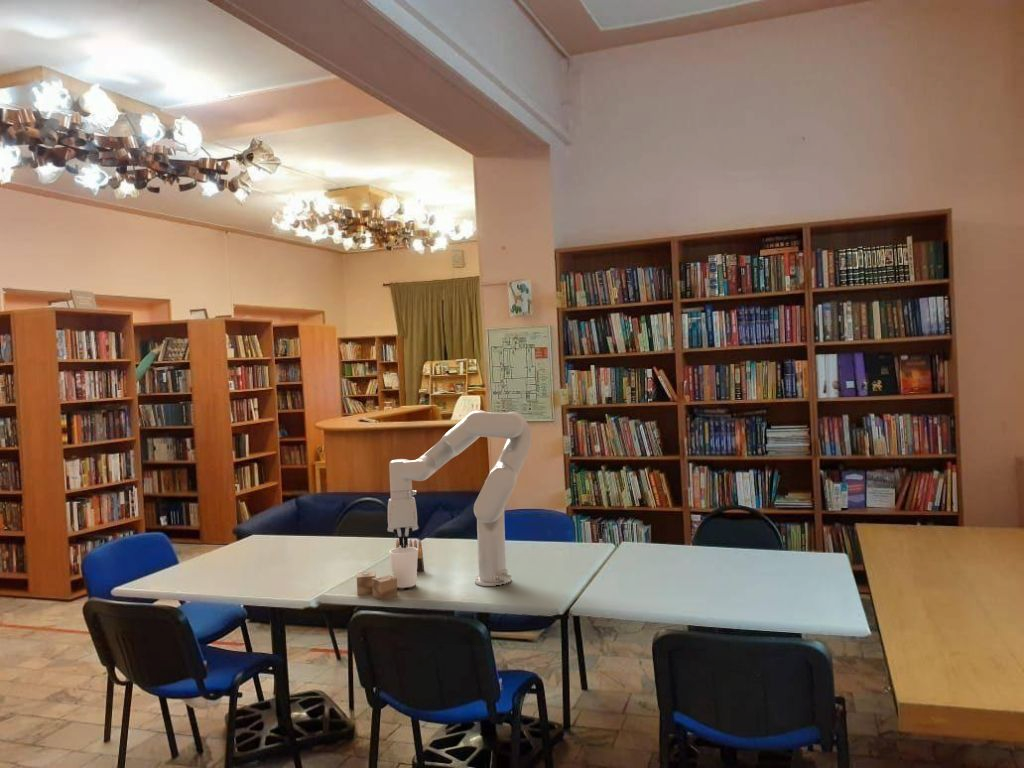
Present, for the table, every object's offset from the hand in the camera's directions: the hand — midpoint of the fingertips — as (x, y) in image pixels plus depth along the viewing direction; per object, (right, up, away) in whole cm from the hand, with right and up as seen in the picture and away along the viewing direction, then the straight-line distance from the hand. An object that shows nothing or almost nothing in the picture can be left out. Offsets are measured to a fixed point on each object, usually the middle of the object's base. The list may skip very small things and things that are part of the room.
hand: (403, 547), depth 259 cm
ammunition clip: (0, -13, +17) cm, 21 cm away
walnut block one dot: (-11, -14, -8) cm, 19 cm away
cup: (+1, -13, -4) cm, 14 cm away
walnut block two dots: (-4, -13, -13) cm, 19 cm away
